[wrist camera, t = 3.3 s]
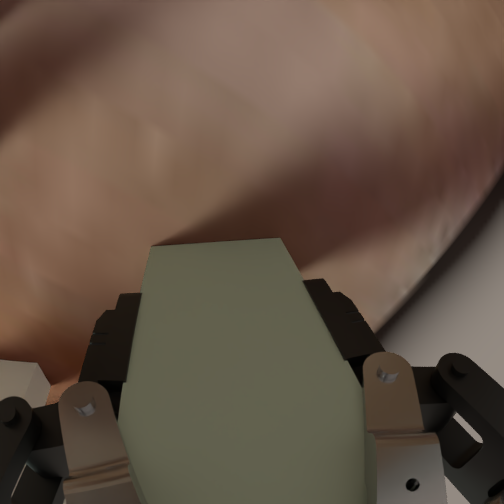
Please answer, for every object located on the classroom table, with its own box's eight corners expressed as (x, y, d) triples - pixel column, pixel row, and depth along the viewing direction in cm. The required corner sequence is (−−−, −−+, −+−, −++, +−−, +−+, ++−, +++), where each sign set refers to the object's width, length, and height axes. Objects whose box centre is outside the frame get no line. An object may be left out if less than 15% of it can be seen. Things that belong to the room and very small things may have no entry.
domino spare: (151, 246, 12) (110, 532, 3) (280, 237, 12) (411, 488, 4) (158, 290, 13) (144, 549, 4) (277, 280, 13) (375, 515, 5)
